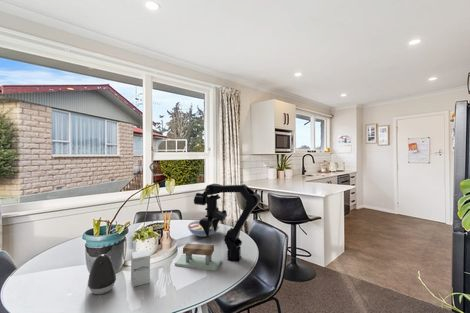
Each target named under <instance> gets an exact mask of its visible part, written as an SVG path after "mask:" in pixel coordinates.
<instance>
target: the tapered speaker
mask: <svg viewBox="0 0 470 313" xmlns="http://www.w3.org/2000/svg"><path fill="white" fill-rule="evenodd" d="M116 274H117V273H116V269H115V266H114V263H113V261H112V258H111V257H110V256H109V255H108V254H106V253H102V254H99V255H98V256H96V257H95V259H94V261H93V262H92V265H91V268H90V272H89V275H88V280H87V281H88V282H87V287H88V288H89V291H90V292H91V293H92V294H95V295H102V294H106V293H107V292H108V293H109V291H111V290H112V289H113V287H114V286H115V283H116V280H117V275H116Z"/></svg>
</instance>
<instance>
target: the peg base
mask: <svg viewBox="0 0 470 313" xmlns="http://www.w3.org/2000/svg"><path fill="white" fill-rule="evenodd" d="M221 263H222V259H221V258H213V257H212V255H211V256H208V255H205V257H204V256H199V255H198V256H197V255H193V254H182V255H181V256H180V257H179V259H177V260H175V262H174V266H178V267H183V268H191V269H199V270H205V271H213V272H216V271H217V270H218V268H219V266H220V265H221Z"/></svg>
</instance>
